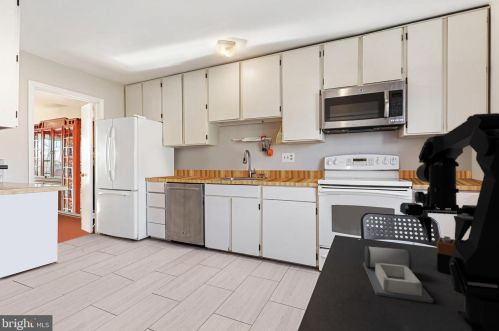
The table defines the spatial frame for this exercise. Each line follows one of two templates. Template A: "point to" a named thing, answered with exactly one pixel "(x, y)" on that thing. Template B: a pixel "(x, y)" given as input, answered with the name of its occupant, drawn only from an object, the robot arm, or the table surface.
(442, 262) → the battery
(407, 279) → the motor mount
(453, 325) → the table surface
